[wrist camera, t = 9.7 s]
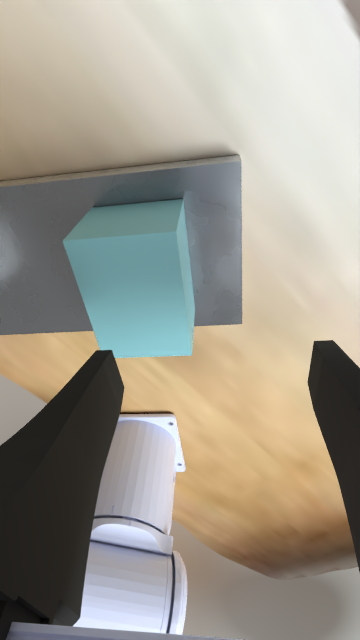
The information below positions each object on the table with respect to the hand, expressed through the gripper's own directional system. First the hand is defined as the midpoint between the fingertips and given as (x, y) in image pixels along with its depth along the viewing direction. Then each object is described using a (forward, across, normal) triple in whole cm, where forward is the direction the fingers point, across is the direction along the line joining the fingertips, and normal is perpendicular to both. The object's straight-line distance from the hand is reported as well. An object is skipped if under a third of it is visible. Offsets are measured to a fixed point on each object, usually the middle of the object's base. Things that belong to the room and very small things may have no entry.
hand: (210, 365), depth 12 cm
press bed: (+10, +11, 0) cm, 15 cm away
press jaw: (+9, +4, 0) cm, 10 cm away
